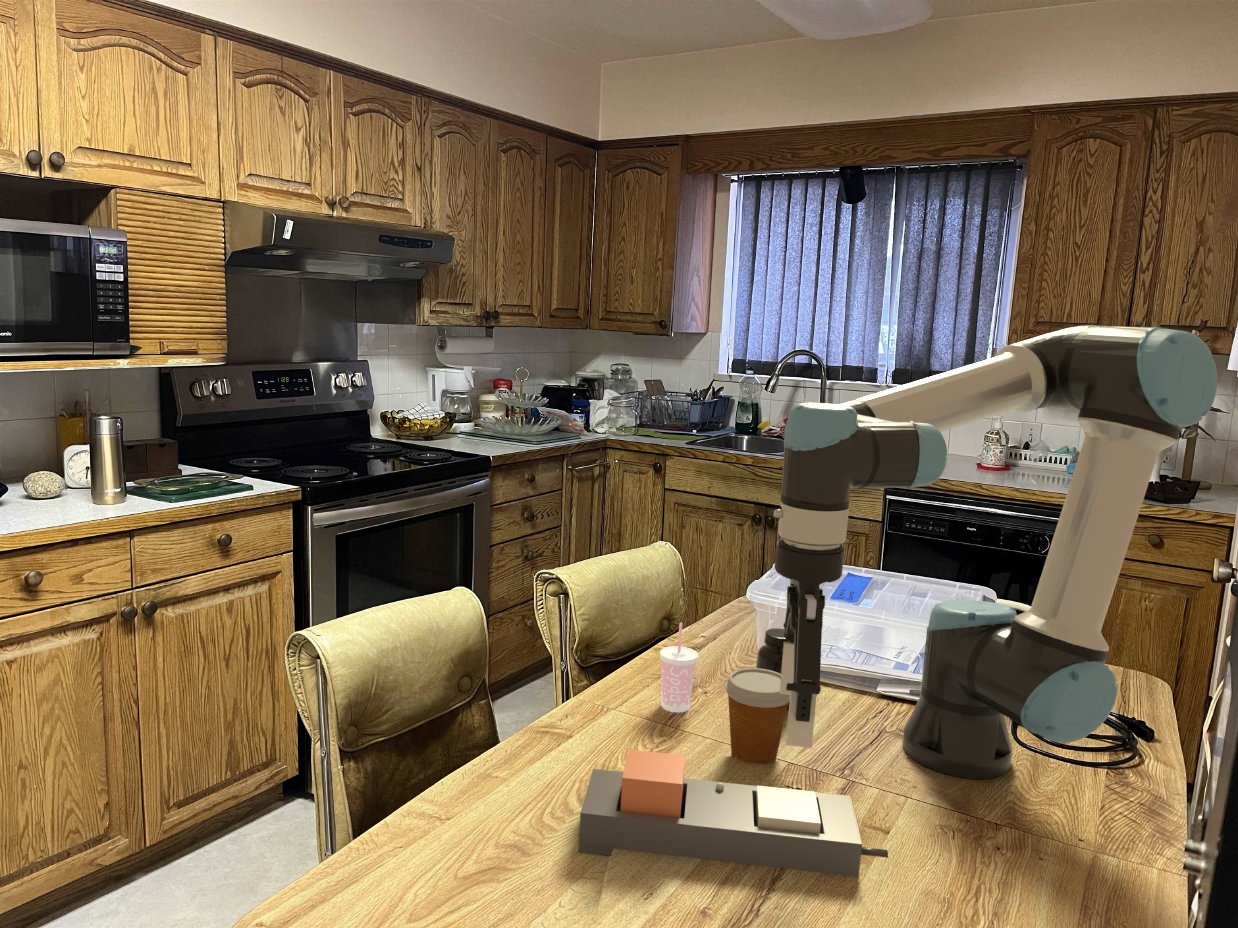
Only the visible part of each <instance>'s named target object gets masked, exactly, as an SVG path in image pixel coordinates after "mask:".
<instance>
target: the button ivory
mask: <svg viewBox="0 0 1238 928" xmlns="http://www.w3.org/2000/svg"><path fill="white" fill-rule="evenodd" d="M756 786H757V792H756V804H755V816H754V826H755V827H764V828H773V829H782V830H791V831H800V832H809V833H819V834H820V825H821V822H820V817H819V811H818V805H817V800H816V794H815V792H816V791H811V790H802V789H794V788H793V789H792V788H784V787H773V786H765V785H756Z"/></svg>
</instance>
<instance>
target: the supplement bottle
mask: <svg viewBox="0 0 1238 928" xmlns="http://www.w3.org/2000/svg"><path fill="white" fill-rule="evenodd" d="M784 633H785V630H784V628H780V627H779V628H778V627H777V628H776V627H774V628H769V629H767V630H765V635H764V636H765V637H764V644H763V645H762V646H761V647H760V648H758V651H757V655H756V667H755V668H760V669H766V670H771V671H774V672H777V673H780V674H781V670H782V659H783V648H784V642H788V640H785V637H784ZM789 704H790V701H789V703H788V708H787V711H789Z"/></svg>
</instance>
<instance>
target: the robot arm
mask: <svg viewBox="0 0 1238 928" xmlns="http://www.w3.org/2000/svg"><path fill="white" fill-rule="evenodd" d="M1217 387H1218V370H1217V366H1216V362H1215V360H1214V358H1213V354H1212V351H1211V349H1210V348H1209V346H1208V344H1206V343H1205V342H1204V341H1203V340H1202V339H1201V338H1200V337H1199V336H1198V335H1196V334H1194V333H1191V332H1189V331H1185V330H1180V329H1179V330H1178V329H1172V328H1171V329H1170V328H1165V327H1162V326H1154V327H1148V326H1147V327H1146V326H1145V327H1144V326H1143V327H1141V326H1116V325H1115V326H1112V325H1111V326H1110V325H1099V324H1085V325H1077V326H1072V327H1066V328H1063V329H1059V330H1058V329H1057V330H1055V331H1052V332H1048V333H1043V334H1042V335H1038V336H1034V337H1032V338H1028V339H1024V340H1022V341H1021V340H1020V341H1019V342H1015V343H1012V344H1008V345H1006V346H1005V345H1004V346H1003V347H1002V348H1001V349H1000V350H999V351H997V353H996V354H995V355H994V357H991V358H987V359H984V360H981V361H977V362H974V363H972V364H967V365H964V366H961V367H958V368H954V369H951V370H949V371H946V372H942V373H939V374H934V375H932V376H929V377H925V378H922V379H918V380H915V381H912V382H909V383H905V384H902V385H899V386H896V387H893V388H889V389H885V390H883V391H879V392H875V393H872V394H869V395H866V396H863V397H860V398H856V399H853V400H852V399H851V400H849V401H844V402H841V403H837V404H836V403H826V402H824V403H823V402H799V403H797V404H794V405H793V406H792V407H791V408H790V409H789V413H788V417H787V421H786V423H785V426H784V435H783V436H784V439H783V447H784V448H783V461H782V462H783V463H782V477H781V487H780V488H781V489H780V504H779V505H780V506H779V507H781V509H780V508H779V509H774V511H773V517H775V518H777V519H778V529H777V534H778V535H779V536H780V538H779V539H778V540H777V541H776V544H775V545H776V547H775V559H774V570H775V572H776V573H777V574H778V575H779V576H781V577H784V578H786V579H788V580H790V583H789V585H787V588H786V611H785V618H784V619H785V620H784V623H783V629H784V630H785V633H784V637H785V640H788V642H784V648H783V659H782V670H781V682H780V694H786V695H790V704H789V710H788V716H787V717H788V718H787V729H786V739H785V743H786V744H785V745H786V746H790V747H800V748H812V746H813V737H814V729H815V727H814V725H815V715H816V708H817V707H816V705H817V697H818V696H817V695H820V693H821V689H822V688H821V666H822V665H821V662H822V660H821V659H822V637H823V636H822V635H823V634H822V633H823V632H822V631H823V625H824V624H823V622H824V621H823V620H824V619H823V616H824V610H825V607H826V595H823V594H824V593H823V591H824V590H823V588H820V585H822V584H824V583H834V582H835V581H838V580H839V579H840V578H841V577H842V575H843V569H844V567H843V566H844V557H845V556H844V555H845V548H844V547H843V545H842V544H844V543H845V542H846V540H847V531H848V523H849V522H848V521H849V514H850V513H849V511H850V499H851V491H852V490H853V489H854V490H858V489H888V488H889V489H890V488H891V489H894V488H897V489H898V488H899V489H900V488H901V489H902V488H905V489H906V490H908V489H910V490H911V489H912V488H916V487H925V486H926V487H927V486H929V485H932V484H934V483H935V482H937V481H938V480H939V479H940V478H941V476H942V475H943V473H944V471H945V469H946V467H947V459H948V458H947V455H948V447H947V446H948V445H947V443H946V441H945V438H944V436H943V433H942V432H945V431H949V430H952V429H955V428H958V427H961V426H965V425H968V424H970V423H973V422H974V423H975V422H976V421H980V420H983V419H986V418H989V417H993V416H995V415H999V414H1002V413H1004V412H1008V411H1011V410H1013V411H1016V412H1017V413H1018V412H1020V413H1028V412H1032V411H1035V410H1037V409H1044V408H1061V409H1070V410H1076V411H1077V410H1078V411H1079V413H1078V415H1077V420H1076V421H1077V423H1078V424H1079V426H1080V428H1081V429H1082V431H1083V433H1084V439H1083V443H1082V446H1081V449H1080V452H1079V455H1078V458H1077V461H1076V464H1075V468H1074V471H1073V473H1072V477H1071V481H1070V484H1069V485H1068V489H1067V493H1066V496H1065V499H1064V503H1063V505H1062V508H1061V509H1062V510H1061V511H1060V515H1059V518H1058V521H1057V524H1056V528H1055V532H1054V534H1053V537H1052V540H1051V544H1050V547H1049V550H1048V553H1047V555H1046V559H1045V562H1044V565H1043V569H1042V572H1041V575H1040V578H1039V582H1038V584H1037V587H1036V591H1035V594H1034V596H1033V597H1034V598H1033V600H1032V603H1031V607H1030V608H1029V609H1028V610H1026V611H1024V612H1022V613H1019V614H1017V611H1016V610H1015V609H1014V608H1013V607H1011V606H1008V605H1005V604H1003V603H998V602H991V601H984V600H974V599H973V600H971V599H969V600H967V599H955V600H944V601H942V602H939V603H937V604H935V605H934V607H933V608H932V609H931V612H930V615H929V619H928V620H929V621H928V626H926V637H925V646H924V648H925V649H924V658H923V666H922V667H923V670H922V679H921V688H920V694H919V695H920V696H919V699H918V701H917V702H916V704H915V706H914V709H913V711H912V712H911V715H910V716H909V718H908V720H907V722H906V724H905V726H904V728H903V735H902V736H903V738H902V747H903V749H904V751H905V752H906V753H907V754H908V756H910V758H912V759H914V761H916V762H918V763H919V764H921V765H923V766H925V767H927V768H929V769H932V770H935V772H939V773H944V774H946V775H950V776H953V777H959V778H964V779H965V778H968V779H978V780H979V779H981V780H983V779H992V778H998V777H1000V776H1002V775H1004V774H1006V773H1008V771H1009V770H1010V769H1011V765H1012V756H1013V748H1012V743H1011V739H1010V733H1009V728H1008V724H1007V719H1006V718H1009V719H1010V720H1012V721H1014V722H1016V723H1017V724H1019V725H1021V726H1022V727H1023V728H1024V729H1026V730H1027V731H1028V732H1030V733H1031V734H1032V733H1033V734H1036V735H1039V736H1041V737H1044V738H1045V739H1047V740H1049V741H1051V742H1055V743H1060V744H1066V743H1067V744H1069V743H1073V742H1074V743H1075V742H1077V741H1081V740H1082V739H1085V738H1087V737H1088V736H1089V735H1090V734H1091V733H1094V732H1095V731H1096V730H1098V729H1099V728H1101V726H1102V725H1103V724H1104V722H1105V721H1106V720H1107V719H1108V717H1109V715H1110V714H1111V713H1112V711H1113V708H1114V705H1115V703H1116V701H1117V696H1118V684H1117V683H1116V682H1117V678H1116V674H1115V673H1114V672H1113V671H1112V670H1111V669H1110V667H1109V666H1108V665H1106V664H1105V663H1106V660H1107V657H1108V654H1109V651H1110V646H1109V645H1108V643H1107V641H1106V639H1105V638H1104V635H1103V634H1102V628H1103V625H1104V621H1105V620H1106V616H1107V613H1108V610H1109V607H1110V604H1111V600H1112V598H1113V594H1114V591H1115V588H1116V586H1117V582H1118V579H1119V575H1120V572H1121V570H1122V567H1123V563H1124V561H1125V557H1126V556H1127V555H1126V554H1127V551H1128V548H1129V545H1130V542H1131V538H1132V536H1133V533H1134V530H1135V527H1136V525H1137V520H1138V517H1139V514H1140V511H1141V507H1142V505H1143V502H1144V499H1145V495H1146V493H1147V489H1148V486H1149V483H1150V480H1151V477H1152V473H1153V471H1154V468H1155V465H1156V462H1157V459H1158V456H1159V453H1161V452H1162V451H1164V450H1166V449H1168V448H1170V447H1171V446H1174V445H1175V444H1176V443H1177V441H1178V438H1179V435H1180V433H1181V430H1182V428H1188V427H1190V426H1194V425H1196V424H1198V423H1199V422H1201V421H1202V420H1203V417H1205V416H1207V415H1208V413H1209V412H1210V410H1211V408H1212V406H1213V404H1214V401H1215V399H1216V395H1217V390H1218V389H1217Z"/></svg>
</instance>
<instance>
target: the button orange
mask: <svg viewBox="0 0 1238 928" xmlns="http://www.w3.org/2000/svg"><path fill="white" fill-rule="evenodd" d="M685 761H686V755H685V754H676V753H667V752H658V751H650V750H649V751H647V750H638V749H628V751H627V755H626V759H625V764H624V768H623V771H622V772H623V777H622V792H621V810H620V812H628V813H637V814H646V815H655V816H665V817H674V818H681V814H682V813H681V805H682V794H683V780H684V778H685V777H684V776H685Z"/></svg>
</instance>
